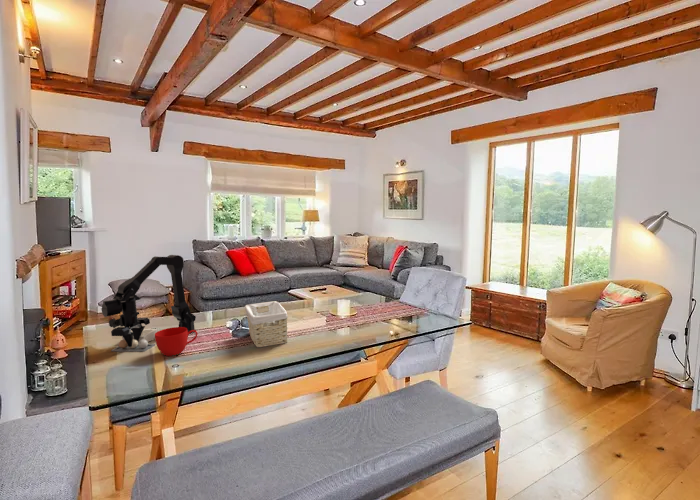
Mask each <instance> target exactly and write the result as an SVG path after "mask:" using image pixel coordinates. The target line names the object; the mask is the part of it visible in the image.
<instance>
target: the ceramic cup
mask: <svg viewBox="0 0 700 500" xmlns="http://www.w3.org/2000/svg"><path fill="white" fill-rule="evenodd" d="M195 330H196V329H195ZM195 330H191V331H189V332H188V330H187V328H184V327H179V326H176V327H175V326H174V327H168V328H164V329H160V330H158V332H156V333H155V338H154V339H155V345H156V347H157V349H158V350H159V352H160V353H161V354H162V355H164V356H165V355H166V357H173V356H172V355H176V354H179V353H181V352H182V351H183V352H184V350H185V348H186V347H187V345H189V344H190V343H192V342H194V341H195V340H196V339H197V337H198V331H197V330H196V331H195ZM191 332H193V333H195V336H194V337H193V338H192V339H190V340H188V338H189V335H191V334H190V333H191ZM183 352H182V353H183ZM182 353H181V354H182Z"/></svg>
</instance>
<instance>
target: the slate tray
mask: <svg viewBox="0 0 700 500" xmlns="http://www.w3.org/2000/svg"><path fill="white" fill-rule="evenodd" d="M153 347H156V343H148V346H147V347H146V348H143V349H142V348H139V346H137V347H136V348H130V347H129V346H127V347H126V348H120V347H119V346H117V347H115V348H112V349H111V352H121V353H122V352H129V353H130V352H135V353H136V352H137V353H141V352H142V353H144V352H146V351H148V350H150V349H151V348H153Z"/></svg>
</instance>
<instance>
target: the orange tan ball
mask: <svg viewBox="0 0 700 500" xmlns="http://www.w3.org/2000/svg"><path fill="white" fill-rule="evenodd" d="M127 346H128V344H127V342H126V341H125V339H123V340H122V339H121V340H119V342H118V347H120V348H126V347H127Z"/></svg>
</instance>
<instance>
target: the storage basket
mask: <svg viewBox="0 0 700 500" xmlns="http://www.w3.org/2000/svg"><path fill="white" fill-rule="evenodd" d="M244 309H245V314H246V317H247V324H248V331H249V335H250V338H251V340H252V342H253V345H255V347H256V348H263V347H268V346H276V345H280V344H286V343H288V318H289V317H288V313H287V310H286V309H285V308H284V306H282V305H281V303H280V302H279V301H276V300H274V301H266V302H258V303H250V304H246V305H245V306H244ZM260 309H268V311H265V312H258V310H260Z"/></svg>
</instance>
